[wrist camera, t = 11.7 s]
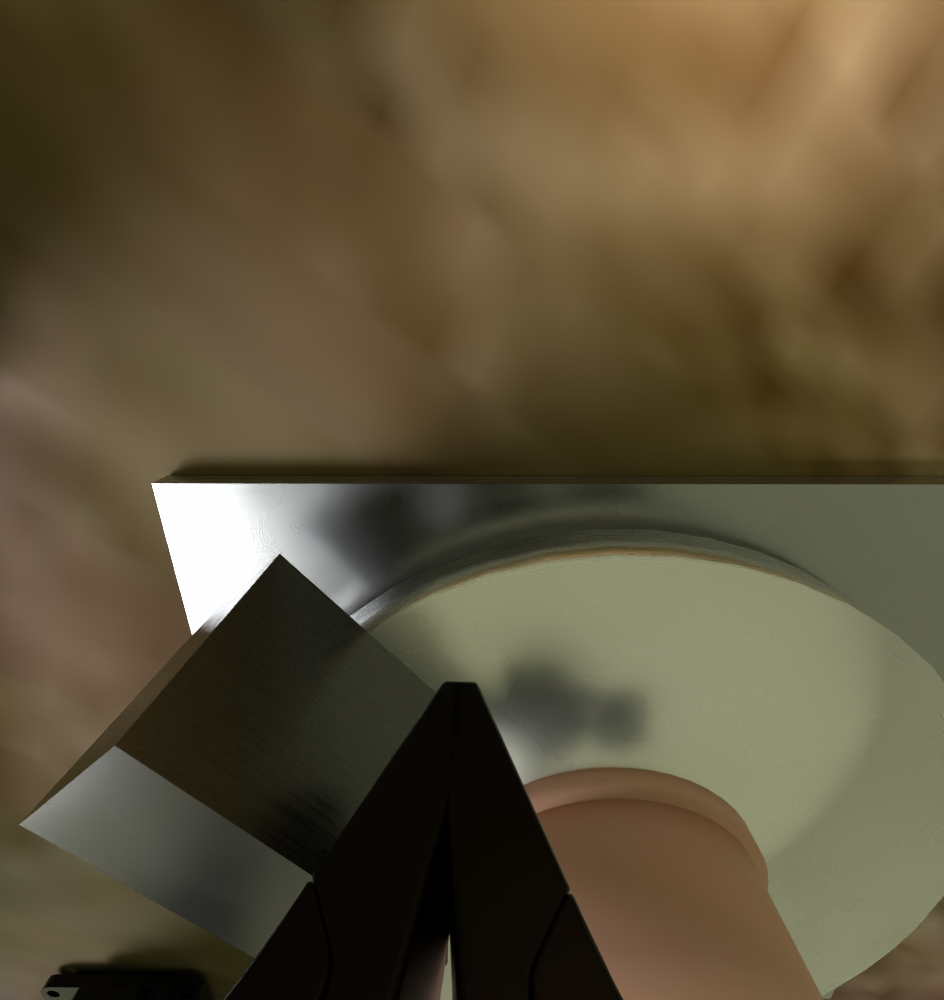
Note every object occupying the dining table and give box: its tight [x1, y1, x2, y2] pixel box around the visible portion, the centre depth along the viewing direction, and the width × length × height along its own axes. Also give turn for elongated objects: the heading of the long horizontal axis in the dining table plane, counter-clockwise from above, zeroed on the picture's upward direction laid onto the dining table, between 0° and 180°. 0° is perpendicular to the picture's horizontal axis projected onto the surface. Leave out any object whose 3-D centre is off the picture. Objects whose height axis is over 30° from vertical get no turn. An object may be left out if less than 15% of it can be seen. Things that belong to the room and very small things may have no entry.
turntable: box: [19, 529, 944, 1000], centre depth 11 cm, size 22×20×6 cm
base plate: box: [152, 476, 944, 998], centre depth 15 cm, size 22×22×1 cm
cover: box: [524, 768, 824, 1000], centre depth 11 cm, size 9×9×4 cm
